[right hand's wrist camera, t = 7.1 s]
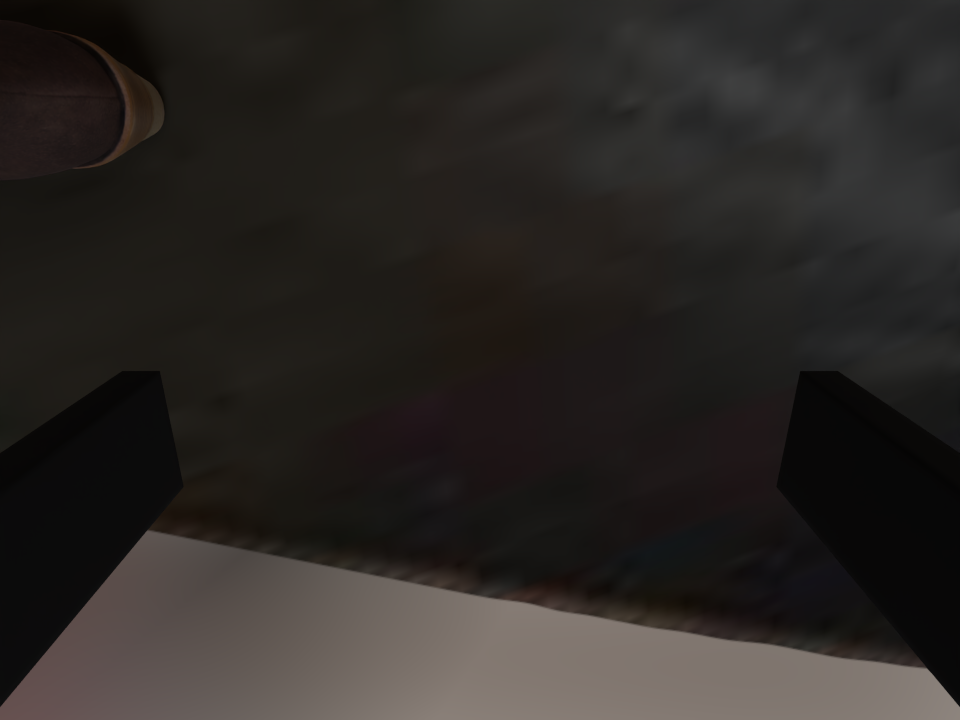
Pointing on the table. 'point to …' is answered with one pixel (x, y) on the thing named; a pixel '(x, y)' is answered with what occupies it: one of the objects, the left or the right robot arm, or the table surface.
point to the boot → (67, 103)
